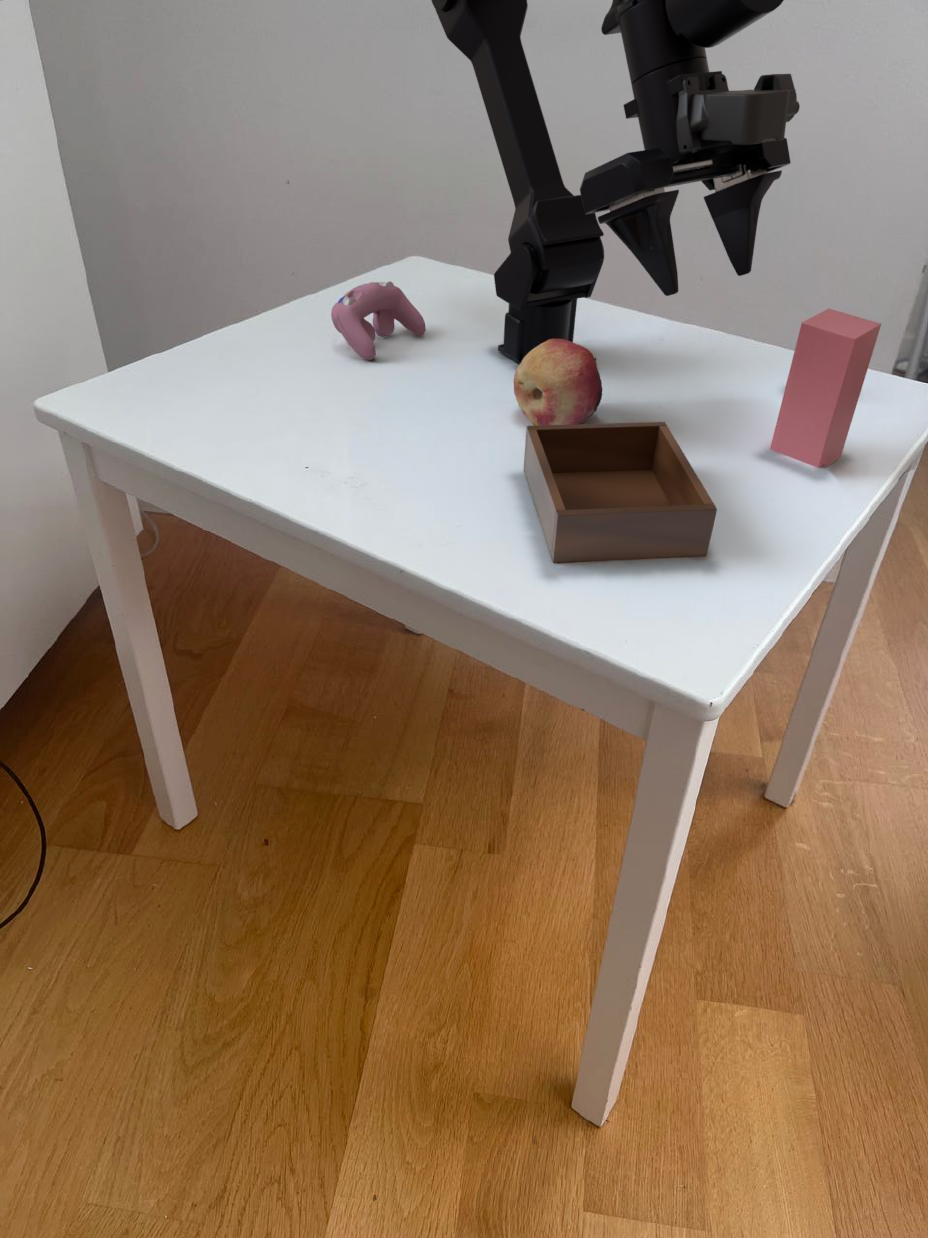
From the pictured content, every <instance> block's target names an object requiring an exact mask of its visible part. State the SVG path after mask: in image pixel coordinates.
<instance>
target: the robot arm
mask: <svg viewBox="0 0 928 1238" xmlns="http://www.w3.org/2000/svg"><path fill="white" fill-rule="evenodd" d="M784 1H785V0H612V2H611V6H610V8H609V10H608V12H607V13H606V14H605V17H604V18H603V22H602V24H601V33H602V35H604V36H608V35H614V34H620V35H621V39H622V44H623V49H624V53H625V55H624V56H625V60H626V65H627V69H628V75H629V80H630V84H631V90H632V96H633V99H632V100H630V101H628V102H626V103H624V104H623V111H624V115H625V119H626V120H629V119H636V118H637V119H638V125H639V129H640V134H641V139H642V144H643V149H644V150H636V151H630V152H626V153H624V154H621V155H620V156H618V157H616V158H614V159H612V160H609V161H608V162H605V163H603V164H601V165H599V166H596V167H595V168H593V169H590V170H588V171H586V172H585V173H584V175H583V178H582V181H581V184H580V187H579V194H577V195H574V194H573V193H572V192H571V191H570V190H569V189H568V188H567V187H566V185H565V183H564V179H563V177H562V173H561V170H560V167H559V163H558V160H557V156H556V153H555V150H554V147H553V143H552V141H551V137H550V133H549V131H548V127H547V123H546V120H545V117H544V113H543V110H542V106H541V104H540V100H539V97H538V93H537V90H536V87H535V83H534V80H533V77H532V73H531V70H530V67H529V64H528V60H527V56H526V52H525V50H524V46H523V43H522V38H521V35H522V32H523V28H524V24H525V21H526V15H527V11H528V7H529V3H528V0H431V3H432V6H433V8H434V9H435V13H436V16H437V17H438V20H439V22H440V24H441V28H442V30H443V31H444V34H445V36H446V39H448V40H449V42H451V43H452V44H453V45H454V47H456V48H457V49H458V50H459V51H460V52H461V53H462V54H463V56H465V57H466V58H467V59H468V60H469V61H470V62H471V64H472V65H471V66H472V67H473V71H474V74H475V78H476V81H477V84H478V88H479V91H480V94H481V98H482V101H483V104H484V107H485V108H484V109H485V111H486V114H487V118H488V121H489V124H490V127H491V128H490V129H491V131H492V134H493V137H494V140H495V144H496V147H497V151H498V154H499V157H500V160H501V165H502V167H503V171H504V174H505V177H506V181H507V184H508V187H509V191H510V194H511V198H512V200H513V205H514V213H513V217H512V222H511V226H510V230H509V233H508V237H507V241H508V246H509V251H510V253H509V254H508V256H506V258H505V259H504V261H503V262H502V263H501V264H500V266H499V267H497V269H496V271H495V272H494V273H493V280H494V288H495V296H496V297H498V298H499V299H501V300H502V301H504V302H505V303H507V304H508V311H507V312H506V313H505V314H504V329H503V343H501V344H498V345H497V352H499V353H501V354H503V355H504V356H505V357H507V358H508V359H510V360H512V361H513V362H515V363H517V365H518V366H519V365H520V363H521V362H522V360H523V359H524V357H525V356H526V355H527V354H528V353H529V352H530V351H531V350H533V349H534V348H535V347H537V346H539V345H540V344H542V343H544V342H546V341H547V340H549V339H566V340H568V341H571V342H573V343H574V336H575V326H576V316H577V306H578V299H583V298H585V299H587V298H588V299H589V298H591V297H592V295H593V292H594V289H595V286H596V283H597V281H598V278H599V275H600V273H601V270H602V267H603V264H604V260H605V248H604V244H603V240H602V237H604V231H603V230H602V228H601V226H600V225H602V224H606V225H607V227H608V228H609V229H610V230H611V231H612V232H613V233H614V235H616V236H617V238H618V239H619V240H620V241H621V242H622V243H623V244H624V245H625V246H626V248H627V249H628V250H629V251H630V252H631V253H632V255H633V256H634V257H635V259H637V261H638V262H639V263H640V265H641V266H642V267H643V269H644V270H645V271H646V272H647V274H648V275H649V276H650V278H651V279H652V281H653V282H654V283H655V285H657V287H658V288H659V290H660V291H661V293H662V294H663V295H664V296H665V297H669V296H672V295H676V294H678V293H679V277H678V275H679V274H678V267H677V266H678V265H677V260H676V253H675V246H674V245H675V244H674V239H673V232H672V224H671V216H672V212H673V210H674V207H675V205H676V202H677V199H678V197H679V193H680V190H679V189H674V190H669V191H666V190H665V188H671V187H676V186H681V185H686V184H693V183H696V182H701V183H702V184H703V185H704V186H705V187H706V189H708V191H714V192H712V193H710V194H707V195H705V196H703V200H704V203H705V205H706V208H707V210H708V212H709V215H710V217H711V219H712V222H713V224H714V226H715V229H716V231H717V233H718V236H719V239H720V240H721V243H722V245H723V248H724V251H725V253H726V255H727V257H728V259H729V261H730V263H731V266H732V268H733V269H734V271H735V273H736V275H737V276H738V277H741V276H742V277H743V276H745V275H748V274H750V273H751V271H752V267H753V265H752V264H753V259H754V252H755V251H754V250H755V244H756V236H757V229H758V223H759V215H760V211H761V206H762V202H763V199H764V197H765V195H766V194H767V192H768V191H769V189H770V188H771V186H772V185H773V183H774V182H775V181H776V180H779V179H780V178H781V176H782V173H783V170H782V169H781V168H783V167H786V166H788V165H790V164H791V163H792V162H791V156H790V150H789V149H790V148H789V146H788V145H789V143H788V138H786V137H785V135H786V126H787V123H789V122H791V120H792V119H793V118H794V117H795V115H797V114H798V112H799V111H800V109H801V108H800V107H801V106H800V102H799V101H798V97H797V96H798V95H797V90H796V88H795V87H796V86H795V84H794V80H793V77H792V74H791V73H772V74H771V73H770V74H762V75H761V76H759V78H758V80H757V82H756V83H755V86H754V87H753V89H743V90H729V85H728V79H727V77H726V75H725V74H724V73H723V71H722V70H716V71H710V68H709V62H708V57H707V51H706V49H709V48H714V47H716V46H718V45H721V43H722V44H723V43H724V42H725V41H727V40H729V39H730V38H731V37H733V36H734V35H737V34H738V33H741V31H743V30H744V29H746V28H748V27H749V26H751V25H753V24H755V23H756V22H757V21H759V20H761V19H762V18H764V17H766V16H767V15H769V14H770V13H772V12H774V11H775V10H777V8H779V7H780V6H781V5H782V4H783V2H784ZM779 169H781V170H779ZM607 211H609V212H607ZM601 212H606V213H604V214H602V215H601V214H600V215H599V216H598V217H597V215H596V213H601Z"/></svg>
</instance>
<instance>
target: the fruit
mask: <svg viewBox="0 0 928 1238" xmlns="http://www.w3.org/2000/svg"><path fill="white" fill-rule="evenodd" d="M513 376H514V377H513V392H514V396H515V400H516V402H517V405H518V407H519V409H520V410H521V412H522V414H523V415H524V416H525V417H526V418H527V420H528V421H529V422H530V423H531V424H532V425H533V426H541V425H574V424H583V422H585V421H586V420H587V419H588V418H590V417H592V416H593V415H594V413H597V410H598V408H599V405H600V404H601V402H602V401H601V400H602V397H603V382H602V378H601V374H600V371H599V369H598V364H597V358H596V357H595V356H594V354H593V353H592V351H590V350H589V349H588V348H587V347H585V346H582V345H580V344H578V343H575V342H574V341H573V342H571V341H568V340H566V339H549V340H547V341H546V342H544V343H542V344H540V345H539V346H537V347H535V348H534V349H533V350H531V351H530V352H529V353H528V354H527V355H526V356H525V357H524V359H523V360H522V362H521V363H520V365H519V364H518V366H517V368H516V370H515V372H514V375H513Z"/></svg>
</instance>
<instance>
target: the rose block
mask: <svg viewBox="0 0 928 1238" xmlns="http://www.w3.org/2000/svg"><path fill="white" fill-rule="evenodd" d="M881 327H882V323H881V322H877V321H874V320H871V319H867V318H864V317H861V316H856V315H853V314H849V313H847V312H843V311H840V310H836V309H832V308H826V309H825V310H823V311H821V312H819V313H817V314H815V315H813V316H811V317H810V318H807V319H806V320H803V321H802V322H801V324H800V328H799V332H798V335H797V340H796V343H795V348H794V351H793V355H792V360H791V363H790V367H789V372H788V376H787V380H786V384H785V387H784V392H783V394H782V395H783V396H782V399H781V404H780V408H779V411H778V415H777V419H776V424H775V427H774V432H773V435H772V439H771V443H770V446H769V450H771V451H772V452H773V451H774V452H777V453H779V454H781V455H783V456H787V457H789V458H790V459H791V458H792V459H794V460H797V461H800V462H802V463H805V464H807V465H809V466H813V467H815V468H817V469H818V468H821V467H822V466H823V465H824V466H825V467H826V468H828V467H829V466H831V465H832V464H833V463H835V462H837V460H839V459H840V458H841V457H842V453H843V451H844V448H845V443H846V441H847V438H848V435H849V432H850V428H851V425H852V423H853V422H852V421H853V419H854V415H855V412H856V408H857V405H858V402H859V398H860V395H861V392H862V389H863V385H864V382H865V380H866V375H867V373H868V368H869V366H870V363H871V359H872V356H873V352H874V349H875V346H876V343H877V341H878V340H877V339H878V337H879V333H880V330H881Z"/></svg>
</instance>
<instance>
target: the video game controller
mask: <svg viewBox="0 0 928 1238" xmlns="http://www.w3.org/2000/svg"><path fill="white" fill-rule="evenodd" d="M371 314H372V315H373V316H372V324H371V322H370V321H368V320H367V319H365V318H366V317H368V316H370V315H371ZM330 317H331V321H332V324H333V326H334V328H335V330H336V331H338V333H340V334H341V336H342V337H343V339H344V340H345V341H346V343H347V344H348V345H349V347H350V348H351V349H352V350H353V352H355V353H356V354H357V355H358V356H360V357H361V358H363V359H364V360H366V361H372V360H374V359H375V357H376V355H377V354H376V350H377V349H376V346H375V343H374V342H375V340H376V336H378V337H380V338H386V337H388V336H391V335H392V334H393V333H394V331H395V320H396V321H397V322H398V323H399V324H401V325H402V326H403V327H404V328H405V329H406V330H407V331H409V332H410V333H412V334H414V335H417V336H423V335H424V334H425V333H426V329H427V328H426V322H425V319H424V317H423V315H422V314H421V312H420V311H419V310H418V309H417V308H416V306H415V305H414V304H413V303H412V302H411V301H410V300H409V298H408V297H407V296H406V294H405V293H404V292H403V290H402V289H401V288H400V287H398V286H396V285H395V284H394V282H393V281H387V282H386V281H379V282H378V281H376V282H375V281H371V282H368V283H362V284H360V285H358V286H356V287H353V288H352V289H350V290H349V291H347V292H346V293H344V295H343V296H342V297H340V298H339V299H338V301H337V302H335V303H334V305H333V306H332V307H331V311H330Z"/></svg>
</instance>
